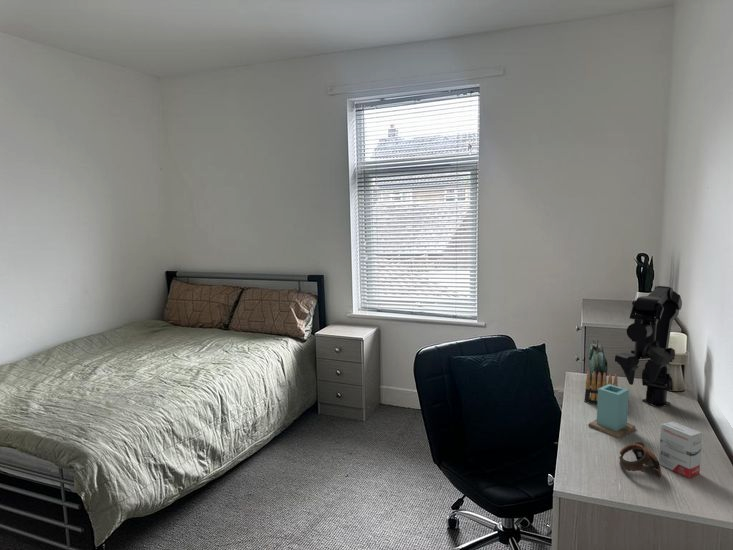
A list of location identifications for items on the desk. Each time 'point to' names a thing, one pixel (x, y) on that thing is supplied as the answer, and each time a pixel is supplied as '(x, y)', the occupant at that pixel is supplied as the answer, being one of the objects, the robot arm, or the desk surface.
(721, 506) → the desk surface
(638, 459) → the brown ridged hollow part
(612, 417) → the teal square planter
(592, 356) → the green lumpy upright piece
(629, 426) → the peg plate
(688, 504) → the desk surface
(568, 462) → the desk surface
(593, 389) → the ammunition clip
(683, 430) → the ink box
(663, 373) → the robot arm
